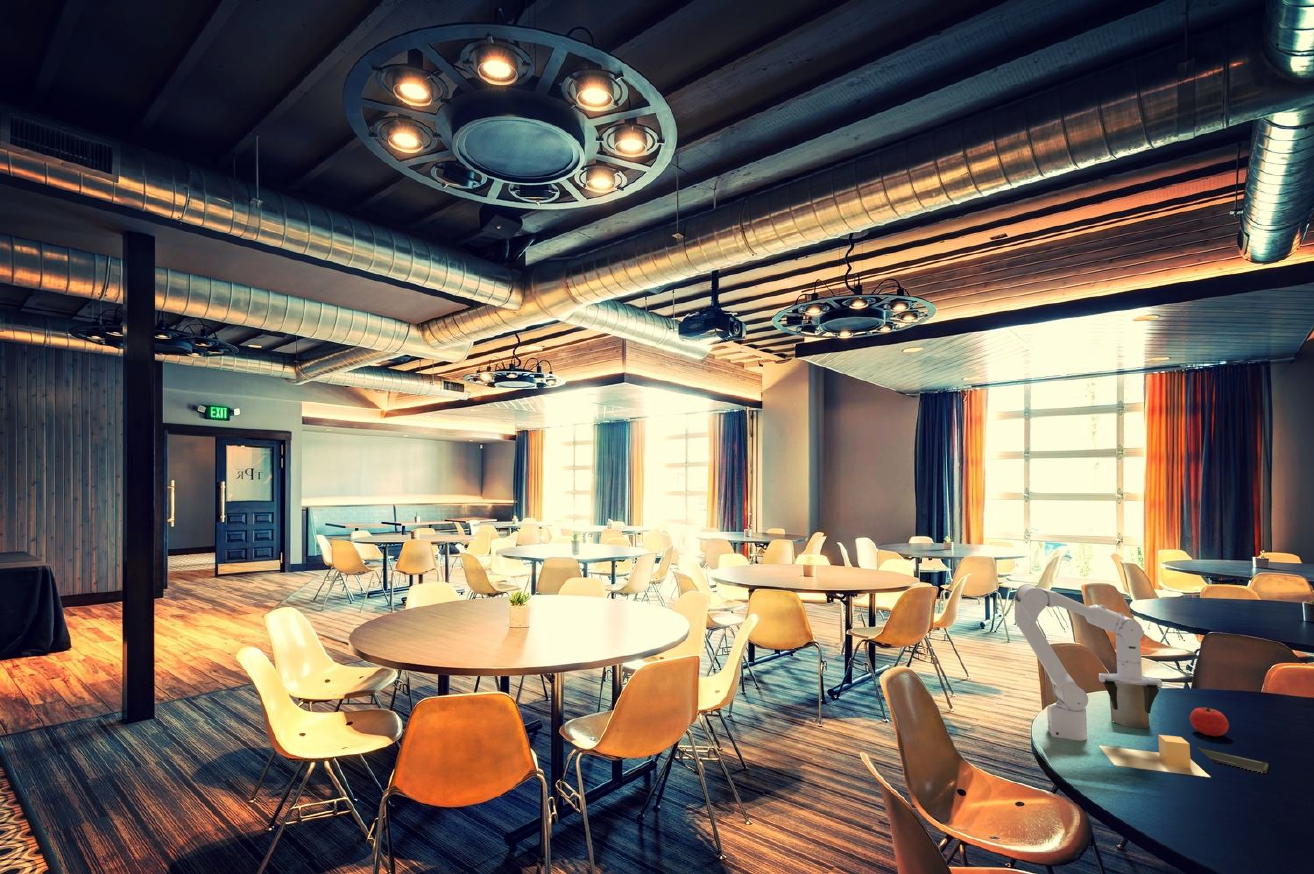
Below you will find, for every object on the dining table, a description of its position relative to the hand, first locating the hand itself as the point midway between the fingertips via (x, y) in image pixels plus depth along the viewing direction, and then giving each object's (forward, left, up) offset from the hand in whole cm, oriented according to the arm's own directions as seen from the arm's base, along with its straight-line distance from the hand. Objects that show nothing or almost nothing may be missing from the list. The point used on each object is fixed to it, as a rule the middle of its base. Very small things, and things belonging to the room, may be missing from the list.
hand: (1131, 710), depth 185 cm
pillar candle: (+5, +21, -10) cm, 24 cm away
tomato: (+24, +18, -10) cm, 31 cm away
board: (0, -14, -9) cm, 17 cm away
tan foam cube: (+5, -14, -8) cm, 17 cm away
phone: (+20, -4, -10) cm, 23 cm away
